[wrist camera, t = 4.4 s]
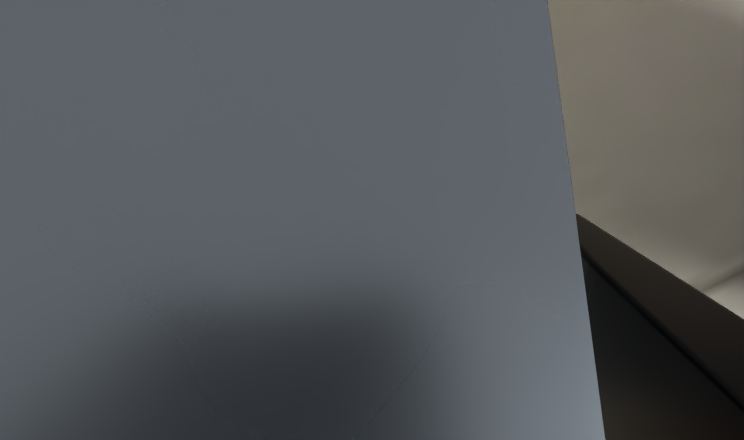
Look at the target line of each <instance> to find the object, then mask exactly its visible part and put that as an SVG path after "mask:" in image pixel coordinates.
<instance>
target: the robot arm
mask: <svg viewBox="0 0 744 440" xmlns="http://www.w3.org/2000/svg"><path fill="white" fill-rule="evenodd" d="M576 222H577V229H578V237H579V244H580V252H581V260H582V267H583V275H584V282H585V290H586V298H587V305H588V313H589V320H590V328H591V335H592V343H593V351H594V358H595V366H596V373H597V381H598V388H599V396H600V404H601V411H602V419H603V426H604V434H605V440H744V319H742V318H741V317H739V316H738V315H736V314H735V313H733V312H731V311H730V310H728V309H727V308H725V307H724V306H722V305H720V304H719V303H717V302H716V301H714V300H713V299H711V298H709V297H708V296H706V295H705V294H703V293H701V292H700V291H698V290H697V289H695V288H694V287H692V286H690V285H689V284H687V283H686V282H684V281H683V280H681V279H679V278H678V277H676V276H675V275H673V274H672V273H670V272H668V271H667V270H665V269H664V268H662V267H661V266H659V265H657V264H656V263H654V262H653V261H651V260H650V259H648V258H646V257H645V256H643V255H642V254H640V253H639V252H637V251H635V250H634V249H632V248H631V247H629V246H628V245H626V244H624V243H623V242H621V241H620V240H618V239H617V238H615V237H613V236H612V235H610V234H609V233H607V232H606V231H604V230H602V229H601V228H599V227H598V226H596V225H594V224H593V223H591V222H590V221H588V220H587V219H585V218H583V217H582V216H580V215H578V214H576Z"/></svg>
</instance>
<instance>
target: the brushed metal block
mask: <svg viewBox="0 0 744 440" xmlns="http://www.w3.org/2000/svg"><path fill="white" fill-rule="evenodd" d="M0 440H605V434H604V426H603V419H602V411H601V404H600V396H599V388H598V381H597V373H596V366H595V358H594V351H593V343H592V335H591V328H590V320H589V313H588V305H587V298H586V290H585V282H584V275H583V267H582V260H581V252H580V244H579V237H578V229H577V222H576V214H575V207H574V199H573V191H572V184H571V176H570V169H569V161H568V153H567V146H566V138H565V131H564V123H563V116H562V108H561V100H560V93H559V85H558V78H557V70H556V62H555V55H554V47H553V40H552V32H551V25H550V17H549V9H548V2H547V0H0Z"/></svg>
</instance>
